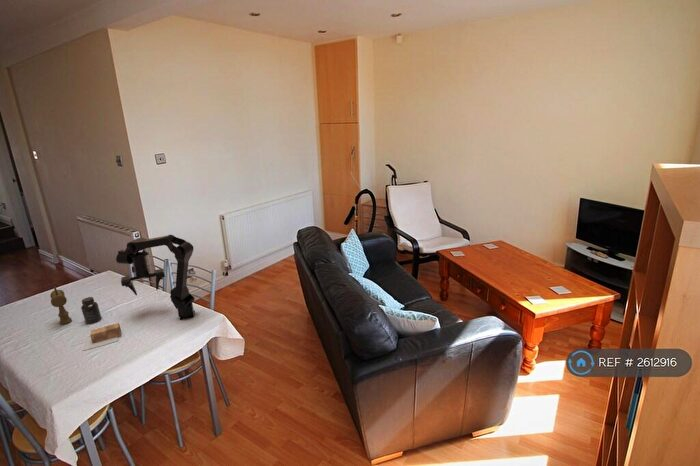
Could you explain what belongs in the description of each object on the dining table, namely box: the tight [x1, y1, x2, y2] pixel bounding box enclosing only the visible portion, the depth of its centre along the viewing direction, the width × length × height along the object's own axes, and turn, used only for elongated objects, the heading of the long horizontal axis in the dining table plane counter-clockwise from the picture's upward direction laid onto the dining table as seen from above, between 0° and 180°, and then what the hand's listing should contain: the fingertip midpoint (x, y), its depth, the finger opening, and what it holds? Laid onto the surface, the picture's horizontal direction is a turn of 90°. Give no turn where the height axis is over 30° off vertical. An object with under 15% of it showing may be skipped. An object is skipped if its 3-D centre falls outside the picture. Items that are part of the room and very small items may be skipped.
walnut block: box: [89, 322, 122, 343], centre depth 167 cm, size 4×4×11 cm
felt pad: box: [82, 335, 119, 352], centre depth 167 cm, size 13×12×1 cm
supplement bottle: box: [80, 296, 102, 325], centre depth 181 cm, size 7×7×12 cm
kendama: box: [50, 286, 73, 325], centre depth 179 cm, size 6×10×20 cm, turn 41°
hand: (146, 292), depth 184 cm, fingers open, 9 cm apart
